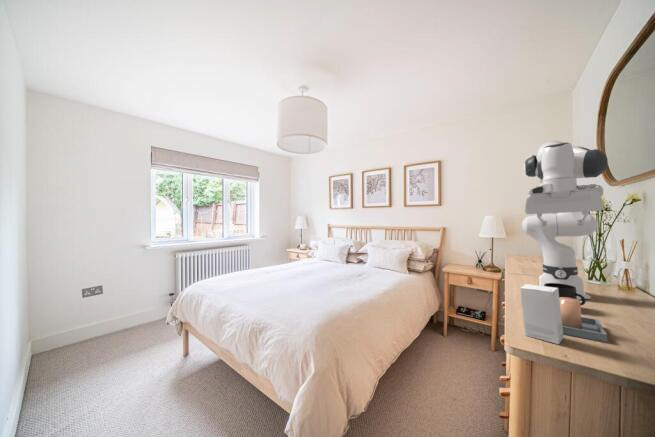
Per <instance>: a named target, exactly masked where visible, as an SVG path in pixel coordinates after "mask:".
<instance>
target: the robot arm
mask: <svg viewBox="0 0 655 437" xmlns="http://www.w3.org/2000/svg"><path fill="white" fill-rule="evenodd" d="M608 164H609V159H608V157H607V155H606V152H603V151H602V150H599V149H598V148H594V149H590V148H586V147H583V146H577V145H572V143H571V142H562V141H560V140H548V141H546V142H544V143H543V144H541V145H540V146H539V147H538V149H537V151H536V155H534V154H532V156H531V157H528V158H527V159H526V160H525V161H524V164H523V165H522V169H523V172H524V174H525V175H526V176H527V177H528V178H529V177H532V178H534V177H537V178H539V179H540V181H539V183H538V185H537V186H535V187H531V188H529V189H528V190H527V197H526V198H525V201H524V213H525V214H526V215H528V216H526V217H525V218H523V219H522V222H521V229H522V231H523V232H524V233H525V234H526V235H528V236H529V237H531V238H532V239H533V240H535V241H536V242H537V244H538V245H539V247H540V249H541V253H542V258H543V259H542V260H543V264H542V272H543V273H542V274H540V275H539V277H538V282H539V284H538V286H544V284H546V283H559V284H566V285H571V286H574V287H576V293H577V294H580V295H582V296H583V297H584V298H585V300H591V299H592V297H591V295H589V294H587V293H586V291H585V283H584V279H582V277H580V276H579V269H578V266H577V264H576V261H577V260H576V251H575V249H574V248H573V247H571V246H569V245H566V244H564V243H561V242H559V241H557V240H556V237H557V238H558V237H559V238H560V237H563V238H565V237H570V238H572V237H577V238H578V237H582V236H591V235H592V234H594V233H595V232H596V230H597V229H598V222H597V219H596V218H595V217H594V216H593V215H592V214H590V213H589V212H600V211H602V210H603V209H604V201H603V198H602V196H603V195H604V187H603V186H602V185H599V184H596V183H595V184H594V183H593V184H592V183H591V184H583V185H577V180H578V179H585V178H586V179H587V178H588V179H589V178H597V177H599V176H601V175H602V174H603V173H604V172H606V171H607V169H608V166H609V165H608ZM529 215H530V216H529ZM577 300H582V299H581V297H579V296H577Z"/></svg>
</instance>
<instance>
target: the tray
mask: <svg viewBox="0 0 655 437" xmlns="http://www.w3.org/2000/svg"><path fill="white" fill-rule="evenodd" d="M581 319H582V329H577V328H572V327H566V326H562V328H563V336H569V337H575V338H580V339H586V340H590V341H594V342H600V343H606V344H608V342H609V341H608V334H607V332H606V331H605V329H604V327H603V325H602V323H601V322H600V320H599V319H598V318H591V317H584V316H581Z"/></svg>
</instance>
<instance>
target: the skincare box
mask: <svg viewBox="0 0 655 437" xmlns="http://www.w3.org/2000/svg"><path fill="white" fill-rule="evenodd" d="M519 289H520V291H519V292H520V300H521V308H522V318H523V330H524V336H525V337H530V338H533V339H537V340H541V341H545V342H548V343H552V344H555V345H559V344H560V343H561V342H562V340H563V339H564V334H563V328H562V318H561V309H560V300H559V291H558V288H555V287H547V286H539V284H538V285H536V284H529V283H525V284H524V285H523V286H521V287H519Z"/></svg>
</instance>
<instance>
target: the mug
mask: <svg viewBox="0 0 655 437" xmlns="http://www.w3.org/2000/svg"><path fill="white" fill-rule="evenodd" d="M544 286H547V287H555V288H558V291H559V297H568V298H574V299H577V296H579V297H581V299H580V300H581V301H582V302H580V305H581V306H584V305H585V304H586V301H587V299H585V298H584V297H583V296H582V295H580V294H577V293H576V287H574V286H571V285H566V284H559V283H546V284H544ZM577 300H578V299H577Z"/></svg>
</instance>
